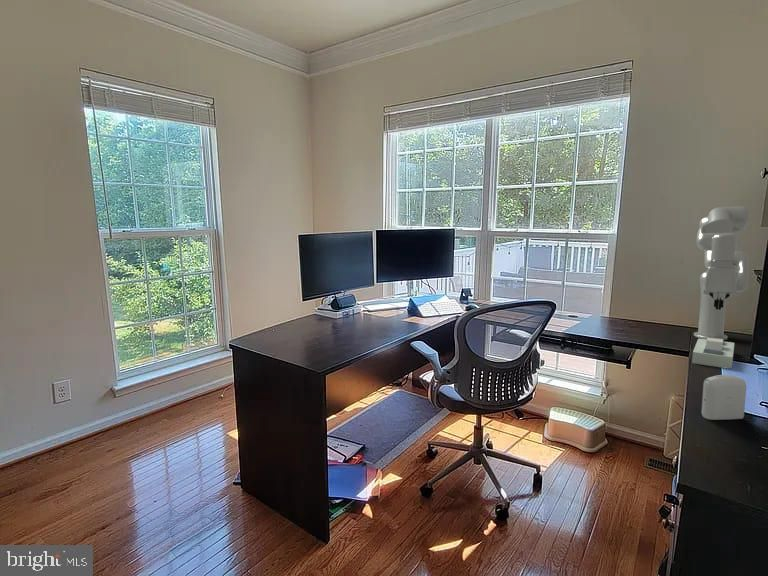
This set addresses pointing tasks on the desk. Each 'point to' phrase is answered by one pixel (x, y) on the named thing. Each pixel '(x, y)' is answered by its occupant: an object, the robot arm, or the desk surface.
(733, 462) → the desk surface
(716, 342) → the white key
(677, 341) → the desk surface
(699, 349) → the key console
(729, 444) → the desk surface
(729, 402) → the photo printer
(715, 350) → the slate key
